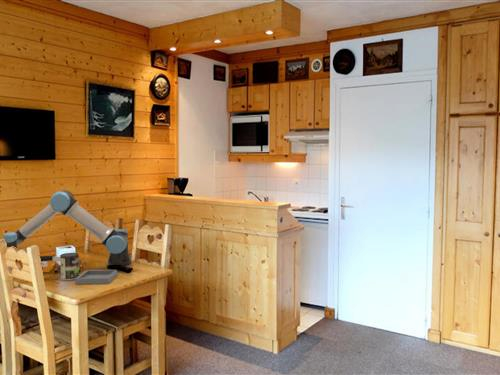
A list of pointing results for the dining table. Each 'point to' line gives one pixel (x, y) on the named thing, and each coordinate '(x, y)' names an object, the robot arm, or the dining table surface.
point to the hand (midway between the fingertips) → (54, 261)
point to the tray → (96, 277)
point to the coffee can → (69, 266)
